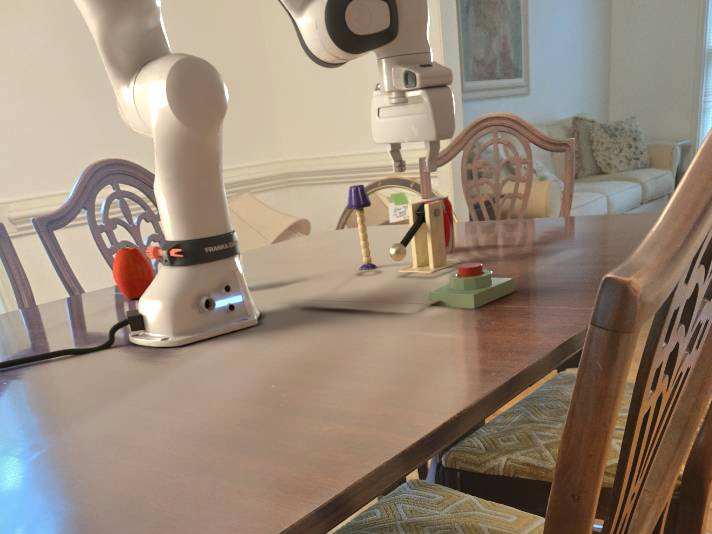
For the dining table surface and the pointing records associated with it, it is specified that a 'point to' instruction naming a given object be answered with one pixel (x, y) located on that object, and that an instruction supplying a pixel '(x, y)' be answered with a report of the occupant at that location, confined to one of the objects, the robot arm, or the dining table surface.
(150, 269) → the apple
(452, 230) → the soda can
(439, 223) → the bracket
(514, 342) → the dining table surface
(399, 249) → the lever
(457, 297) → the switch block
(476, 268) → the button
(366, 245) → the toy lamp
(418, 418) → the dining table surface
